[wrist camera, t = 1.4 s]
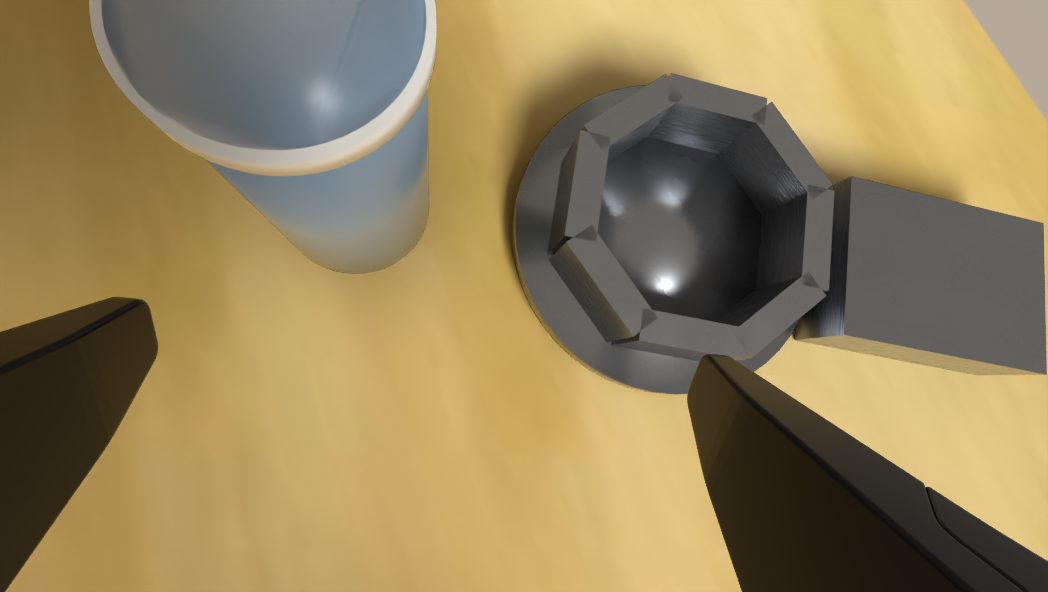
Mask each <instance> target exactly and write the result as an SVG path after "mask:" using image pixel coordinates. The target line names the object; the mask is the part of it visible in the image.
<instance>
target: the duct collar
mask: <svg viewBox="0 0 1048 592" xmlns="http://www.w3.org/2000/svg"><path fill="white" fill-rule="evenodd" d="M766 104H767V98H764V97H760V96H757V95H753V94H749V93H745V92H741V91H737V90H734V89H730V88H726V87H722V86H718V85H714V84H711V83H707V82H703V81H699V80H695V79H692V78H688V77H684V76H680V75H676V74H672V73H671V74H670V76H669V77H667V75H666V74H665V75H663V76H661V77H660V78H658V79H657V80H655V81H653V82H652V83H650V84H649V85H645V86H632V87H627V88H622V89H617V90H613V91H610V92H607V93H605V94H602V95H599V96H596V97H594V98H593V99H591V100H589V101H587V102H585V103H583V104H581V105H579V106H578V107H577V108H575V109H574V110H572V111H571V112H570V113H568V114H567V115H565V116H564V117H563V118H562V119H561V120H560V121H559V122H558V123H557V124H556V125H555V126H554V127H553V128H552V129H551V130H550V131H549V133H548V134H547V135H546V137H545V138H544V139H543V140H542V142H541V143H540V144H539V146H538V148H537V150H536V151H535V153H534V155H533V157H532V158H531V160H530V162H529V164H528V167H527V169H526V171H525V174H524V176H523V179H522V181H521V184H520V186H519V189H518V193H517V198H516V202H515V206H514V214H513V224H512V236H513V251H514V257H515V263H516V268H517V272H518V275H519V278H520V282H521V285H522V288H523V290H524V293H525V295H526V297H527V299H528V301H529V304H530V306H531V308H532V309H533V311H534V313H535V314H536V316H537V318H538V319H539V321H540V323H541V324H542V326H543V327H544V328H545V329H546V331H547V332H548V333H549V334H550V336H551V337H552V338H553V339H554V341H555V342H556V343H557V344H558V345H559V346H560V347H561V348H562V349H563V350H565V351H566V352H567V353H568V354H569V355H570V356H571V357H572V358H573V359H575V360H576V361H577V362H579V363H580V364H582V365H583V366H584V367H586V368H587V369H588V370H590V371H592V372H594V373H596V374H598V375H599V376H601V377H603V378H605V379H607V380H609V381H612V382H614V383H617V384H619V385H622V386H625V387H628V388H632V389H637V390H641V391H645V392H655V393H665V394H688V390H689V387H690V385H691V382H692V379H693V377H694V374H695V372H696V369H697V366H698V364H699V361H700V359H701V358H702V357H703V356H704V355H706V354H717V355H726V356H729V357H731V358H733V359H734V360H736V361H737V362H739V363H740V364H742V365H743V366H745V367H746V368H748V369H749V370H751V371H752V372H754V371H756V370H757V369H758V368H760V367H761V366H762V365H764V364H765V363H766V362H767V361H769V360H770V359H771V358H772V357H773V356H774V355H775V354H776V353H777V352H778V351H779V350H780V349H781V347H782V346H783V345H784V343H785V342H786V341H787V339H788V338H789V337H790V336H791V334H792V332H793V331H794V329H795V327H796V332H795V340H797V341H802V342H808V343H813V344H818V345H823V346H828V347H834V348H839V349H844V350H849V351H855V352H860V353H865V354H870V355H875V356H881V357H886V358H891V359H896V360H901V361H907V362H912V363H917V364H922V365H927V366H933V367H938V368H943V369H948V370H954V371H959V372H964V373H969V374H974V375H1047V371H1046V323H1045V274H1044V226H1043V223H1040V222H1036V221H1032V220H1028V219H1024V218H1020V217H1016V216H1012V215H1007V214H1003V213H999V212H995V211H991V210H987V209H983V208H979V207H975V206H971V205H967V204H963V203H958V202H954V201H950V200H946V199H942V198H938V197H934V196H930V195H926V194H922V193H918V192H913V191H909V190H905V189H901V188H897V187H893V186H889V185H885V184H881V183H877V182H873V181H869V180H864V179H860V178H856V177H849V178H847V179H845V180H843V181H841V182H839V183H837V184H835V185H833V186H832V183H831V182H830V181H829V179H828V178H827V176H826V175H825V174H824V172H823V171H822V170H821V168H820V167H819V165H818V164H817V163H816V161H815V160H814V159H813V157H812V156H811V154H810V153H809V152H808V150H807V149H806V148H805V146H804V145H803V144H802V142H801V141H800V139H799V138H798V137H797V135H796V134H795V133H794V131H793V130H792V128H791V127H790V126H789V124H788V123H787V122H786V120H785V119H784V118H783V116H782V115H781V113H780V112H779V111H778V109H777V108H776V107H775V105H774V104H773V102H771V103H769V104H768V105H766ZM830 186H831V187H830Z"/></svg>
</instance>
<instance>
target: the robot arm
mask: <svg viewBox="0 0 1048 592" xmlns="http://www.w3.org/2000/svg"><path fill="white" fill-rule="evenodd" d="M157 352H158V341H157V337H156V333H155V328H154V324H153V320H152V316H151V311H150V308H149V306H148V304H147V303H146V302H145V301H143V300H141V299H134V298H124V297H111V298H108V299H105V300H102V301H98V302H95V303H92V304H89V305H85V306H82V307H79V308H76V309H73V310H69V311H66V312H63V313H60V314H57V315H53V316H50V317H47V318H44V319H41V320H37V321H34V322H31V323H28V324H25V325H21V326H18V327H15V328H12V329H9V330H5V331H2V332H0V592H5V591H6V590H7V588H8V587H9V586H10V584H11V583H12V581H13V580H14V578H15V577H16V576H17V574H18V573H19V571H20V570H21V568H22V567H23V566H24V564H25V563H26V561H27V560H28V558H29V557H30V556H31V554H32V553H33V551H34V550H35V548H36V547H37V546H38V544H39V543H40V541H41V540H42V538H43V537H44V536H45V534H46V533H47V531H48V530H49V528H50V527H51V526H52V524H53V523H54V521H55V520H56V518H57V517H58V516H59V514H60V513H61V511H62V510H63V508H64V507H65V506H66V504H67V503H68V501H69V500H70V499H71V497H72V496H73V494H74V493H75V491H76V490H77V489H78V487H79V486H80V484H81V483H82V481H83V480H84V479H85V477H86V476H87V474H88V473H89V471H90V470H91V469H92V467H93V466H94V464H95V463H96V461H97V460H98V459H99V457H100V456H101V454H102V453H103V451H104V450H105V448H106V447H107V445H108V444H109V442H110V440H111V439H112V437H113V435H114V434H115V432H116V430H117V429H118V427H119V425H120V423H121V421H122V420H123V418H124V416H125V414H126V412H127V410H128V409H129V407H130V405H131V403H132V401H133V399H134V398H135V396H136V394H137V392H138V390H139V388H140V387H141V385H142V383H143V381H144V379H145V377H146V376H147V374H148V372H149V370H150V368H151V366H152V365H153V363H154V361H155V359H156V356H157ZM687 403H688V408H689V413H690V417H691V422H692V426H693V431H694V436H695V440H696V445H697V449H698V454H699V458H700V463H701V468H702V472H703V476H704V480H705V483H706V486H707V489H708V493H709V496H710V499H711V502H712V505H713V508H714V511H715V513H716V516H717V519H718V522H719V525H720V528H721V531H722V534H723V537H724V540H725V543H726V546H727V549H728V552H729V555H730V558H731V561H732V564H733V567H734V569H735V572H736V575H737V578H738V581H739V584H740V587H741V590H742V592H1048V561H1047V560H1045V559H1044V558H1042V557H1040V556H1039V555H1037V554H1035V553H1034V552H1032V551H1030V550H1029V549H1027V548H1025V547H1024V546H1022V545H1020V544H1019V543H1017V542H1015V541H1014V540H1012V539H1011V538H1009V537H1007V536H1006V535H1004V534H1002V533H1001V532H999V531H997V530H996V529H994V528H993V527H991V526H989V525H988V524H986V523H985V522H983V521H982V520H980V519H978V518H977V517H975V516H974V515H972V514H971V513H969V512H967V511H966V510H964V509H963V508H961V507H960V506H958V505H956V504H955V503H953V502H952V501H950V500H949V499H947V498H946V497H944V496H943V495H941V494H940V493H938V492H937V491H935V490H933V489H932V488H930V487H925V485H924V483H923V482H921V481H919V480H918V479H916V478H915V477H913V476H912V475H910V474H909V473H907V472H906V471H904V470H903V469H901V468H900V467H898V466H896V465H895V464H893V463H892V462H890V461H889V460H887V459H886V458H884V457H883V456H881V455H880V454H878V453H877V452H875V451H873V450H872V449H870V448H869V447H867V446H866V445H864V444H863V443H861V442H860V441H858V440H857V439H855V438H854V437H852V436H851V435H849V434H847V433H846V432H844V431H843V430H841V429H840V428H838V427H837V426H835V425H834V424H832V423H831V422H829V421H828V420H826V419H824V418H823V417H821V416H820V415H818V414H817V413H815V412H814V411H812V410H811V409H809V408H808V407H806V406H805V405H803V404H801V403H800V402H798V401H797V400H795V399H794V398H792V397H791V396H789V395H788V394H786V393H785V392H783V391H782V390H780V389H778V388H777V387H775V386H774V385H772V384H771V383H769V382H768V381H766V380H765V379H763V378H762V377H760V376H759V375H757V374H756V373H754V372H752V371H751V370H749V369H748V368H746V367H745V366H743V365H742V364H740V363H739V362H737V361H736V360H734V359H733V358H731V357H729V356H726V355H717V354H706V355H704V356H703V357H702V358H701V359H700V361H699V364H698V366H697V369H696V372H695V374H694V377H693V379H692V382H691V385H690V387H689V390H688V395H687Z"/></svg>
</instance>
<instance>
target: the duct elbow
mask: <svg viewBox="0 0 1048 592" xmlns="http://www.w3.org/2000/svg"><path fill="white" fill-rule="evenodd" d="M89 12H90V20H91V29H92V33H93V36H94V40H95V43H96V47H97V50H98V52H99V54H100V56H101V59H102V61H103V63H104V65H105V67H106V69H107V71H108V72H109V74H110V75H111V77H112V78H113V80H114V82H115V83H116V85H117V86H118V88H119V89H120V90H121V91H122V92H123V93H124V95H125V96H126V97H127V98H128V99H129V100H130V101H131V103H132V104H133V105H134V106H135V107H136V108H138V109H139V110H140V111H141V112H142V113H143V114H144V115H145V116H146V117H147V118H148V119H149V120H151V121H152V122H153V123H154V124H155V125H156V126H157V127H158V128H159V129H161V130H162V131H163V132H164V133H165V134H166V135H167V136H169V137H170V138H171V139H172V140H174V141H175V142H177V143H178V144H180V145H181V146H183V147H184V148H186V149H187V150H189V151H190V152H192V153H194V154H196V155H198V156H200V157H202V158H204V159H206V160H207V161H208V162H209V163H210V164H211V165H212V166H213V167H214V168H215V169H216V170H217V171H218V172H219V173H220V174H221V175H222V176H223V177H224V178H225V179H226V180H227V181H228V182H229V183H230V184H232V185H233V186H234V187H235V188H236V189H237V190H238V191H239V192H240V193H241V194H242V195H243V196H244V197H245V198H246V199H247V200H248V201H249V202H250V203H251V204H252V205H253V206H254V207H255V208H256V209H257V210H258V211H259V212H260V213H261V214H262V215H263V216H264V217H265V218H267V219H268V220H269V221H270V222H271V223H272V224H273V225H274V226H275V227H276V228H277V229H278V230H279V231H280V232H281V233H282V234H283V235H284V236H285V237H286V238H287V239H288V240H289V241H290V242H291V243H292V244H293V245H294V246H295V247H296V248H297V249H298V250H299V251H300V252H302V253H303V254H304V255H305V256H306V257H307V258H309V259H310V260H312V261H313V262H315V263H316V264H318V265H320V266H323V267H325V268H327V269H330V270H333V271H337V272H342V273H352V274H358V273H368V272H374V271H377V270H381V269H384V268H386V267H388V266H390V265H392V264H394V263H396V262H397V261H399V260H401V259H402V258H403V257H404V256H406V255H407V254H408V253H409V252H410V251H411V250H412V249H413V248H414V246H415V245H416V244H417V242H418V241H419V239H420V237H421V236H422V234H423V232H424V229H425V226H426V224H427V219H428V215H429V157H428V86H429V84H430V81H431V77H432V73H433V69H434V64H435V54H436V7H435V1H434V0H89Z"/></svg>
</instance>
